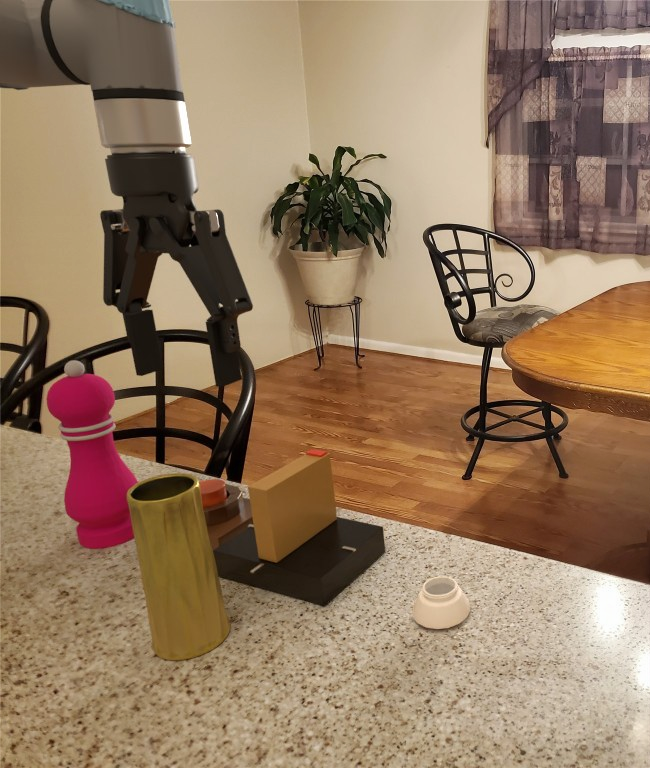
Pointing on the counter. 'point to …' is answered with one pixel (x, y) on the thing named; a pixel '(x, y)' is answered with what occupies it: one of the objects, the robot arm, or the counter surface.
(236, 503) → the drain block
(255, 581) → the black square base
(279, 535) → the yellow block
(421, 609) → the white jar
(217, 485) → the button
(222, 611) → the vase
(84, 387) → the pepper mill
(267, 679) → the counter surface
